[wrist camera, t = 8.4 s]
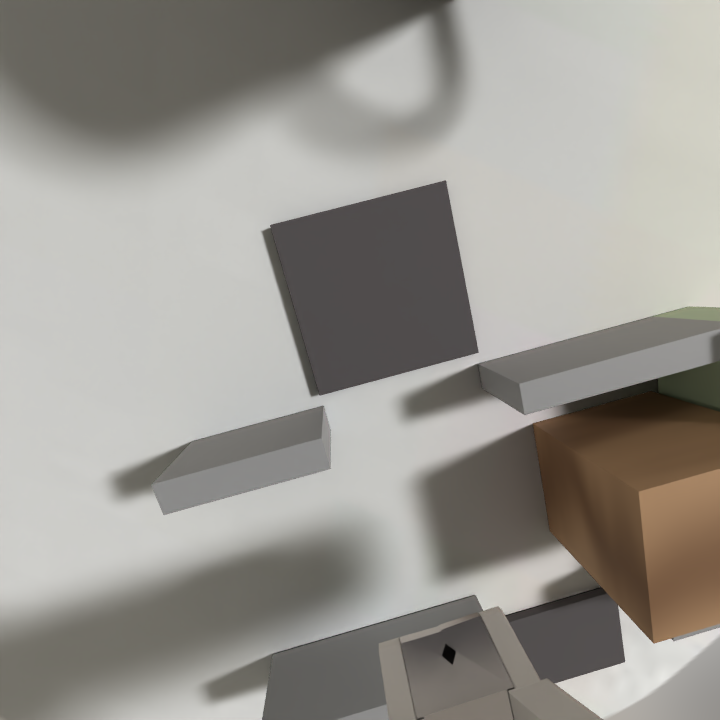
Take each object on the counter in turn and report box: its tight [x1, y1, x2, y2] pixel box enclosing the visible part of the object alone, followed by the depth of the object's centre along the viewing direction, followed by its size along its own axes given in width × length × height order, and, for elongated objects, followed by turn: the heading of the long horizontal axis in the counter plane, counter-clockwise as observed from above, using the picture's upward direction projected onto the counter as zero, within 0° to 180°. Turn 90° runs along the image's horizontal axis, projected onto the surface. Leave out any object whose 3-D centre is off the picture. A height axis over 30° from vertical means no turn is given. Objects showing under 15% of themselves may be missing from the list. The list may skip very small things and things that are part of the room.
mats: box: [270, 181, 625, 683], centre depth 14 cm, size 22×10×1 cm, turn 15°
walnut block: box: [533, 391, 720, 643], centre depth 12 cm, size 5×5×5 cm
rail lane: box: [151, 307, 720, 720], centre depth 12 cm, size 11×20×4 cm, turn 105°
